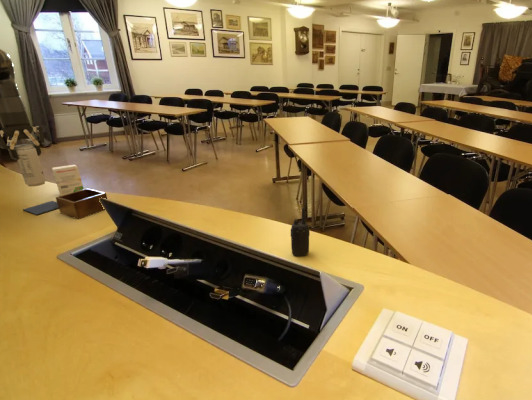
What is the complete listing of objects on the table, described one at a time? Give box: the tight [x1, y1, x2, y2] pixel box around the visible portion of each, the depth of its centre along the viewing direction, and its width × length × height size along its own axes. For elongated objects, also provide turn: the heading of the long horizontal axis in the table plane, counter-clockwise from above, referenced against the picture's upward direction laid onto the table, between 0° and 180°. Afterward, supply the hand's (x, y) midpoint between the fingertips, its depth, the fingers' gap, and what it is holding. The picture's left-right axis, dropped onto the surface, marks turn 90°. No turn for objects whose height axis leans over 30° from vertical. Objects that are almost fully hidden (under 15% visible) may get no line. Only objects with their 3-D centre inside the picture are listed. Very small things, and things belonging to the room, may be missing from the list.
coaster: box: [22, 200, 59, 216], centre depth 125 cm, size 10×10×1 cm
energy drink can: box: [14, 143, 47, 188], centre depth 119 cm, size 6×6×15 cm
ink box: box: [51, 164, 85, 196], centre depth 140 cm, size 8×5×12 cm, turn 134°
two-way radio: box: [290, 206, 310, 257], centre depth 92 cm, size 6×4×15 cm
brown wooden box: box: [55, 187, 108, 220], centre depth 123 cm, size 12×12×6 cm
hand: (27, 157), depth 118 cm, fingers closed on energy drink can, 6 cm apart
